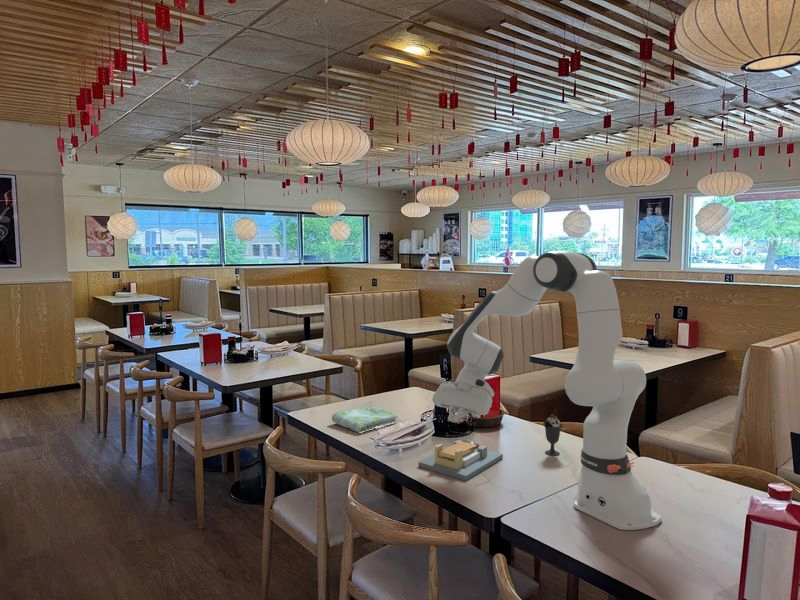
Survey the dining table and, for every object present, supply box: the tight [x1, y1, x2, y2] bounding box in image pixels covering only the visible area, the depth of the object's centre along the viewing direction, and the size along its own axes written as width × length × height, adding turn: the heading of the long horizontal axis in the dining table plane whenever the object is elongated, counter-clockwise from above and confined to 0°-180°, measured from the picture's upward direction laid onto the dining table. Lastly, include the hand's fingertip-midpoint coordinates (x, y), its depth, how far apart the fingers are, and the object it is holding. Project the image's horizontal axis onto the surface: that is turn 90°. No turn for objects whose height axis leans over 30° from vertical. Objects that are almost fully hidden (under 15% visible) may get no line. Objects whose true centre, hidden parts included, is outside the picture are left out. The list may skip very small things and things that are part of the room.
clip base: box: [417, 439, 504, 481], centre depth 178 cm, size 23×18×7 cm
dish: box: [472, 408, 506, 428], centre depth 220 cm, size 18×22×5 cm
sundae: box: [542, 408, 564, 457], centre depth 185 cm, size 7×7×15 cm
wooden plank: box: [439, 440, 480, 459], centre depth 177 cm, size 2×6×15 cm
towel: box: [331, 405, 398, 433], centre depth 220 cm, size 18×21×5 cm
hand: (452, 420), depth 172 cm, fingers closed
